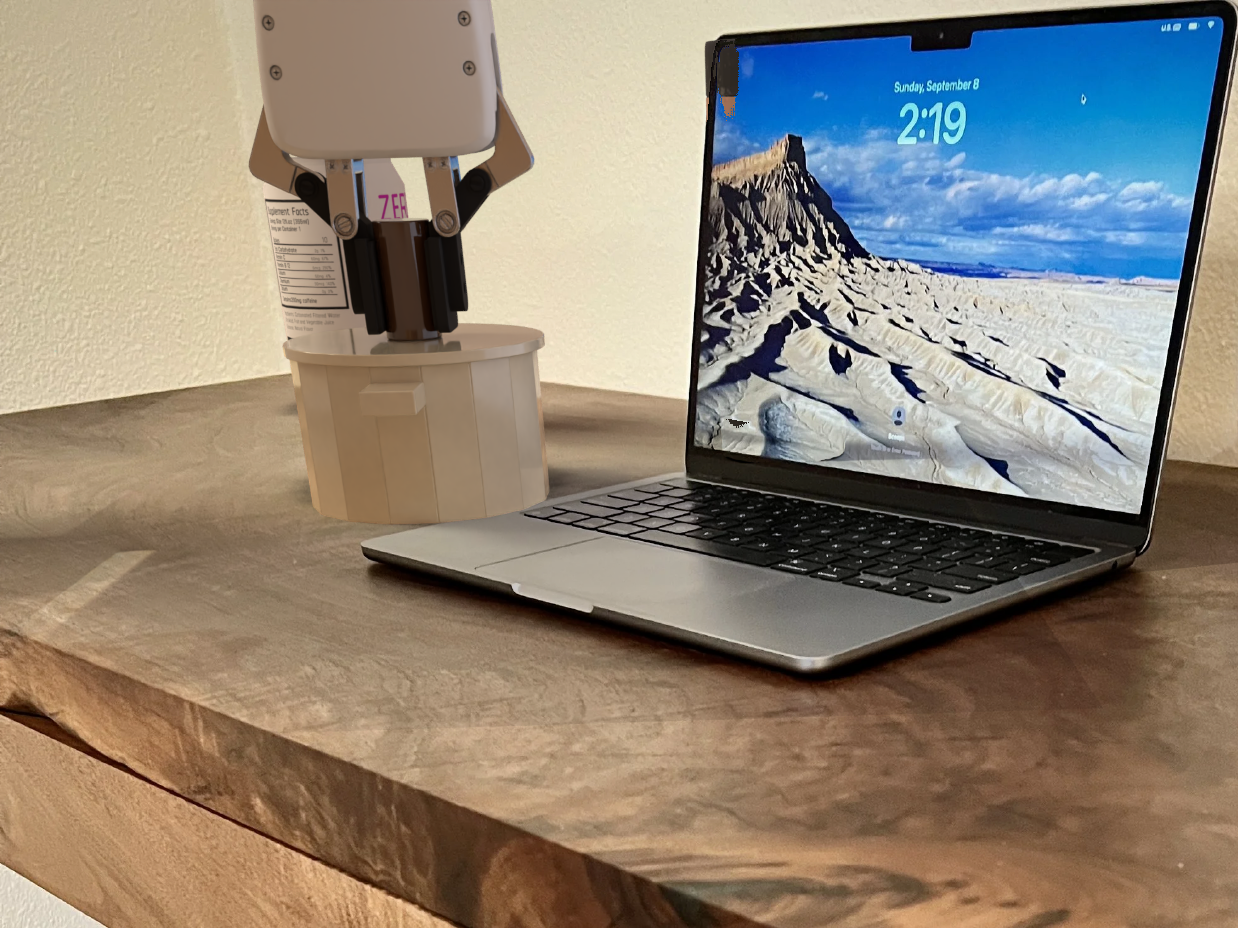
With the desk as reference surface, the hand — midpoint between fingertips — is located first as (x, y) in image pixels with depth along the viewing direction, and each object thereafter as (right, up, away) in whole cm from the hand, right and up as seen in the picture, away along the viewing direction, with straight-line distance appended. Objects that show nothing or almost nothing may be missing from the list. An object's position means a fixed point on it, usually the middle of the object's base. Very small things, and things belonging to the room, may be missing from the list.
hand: (413, 326), depth 76 cm
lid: (0, -1, 0) cm, 1 cm away
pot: (0, -7, +4) cm, 8 cm away
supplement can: (-9, +5, +27) cm, 29 cm away
